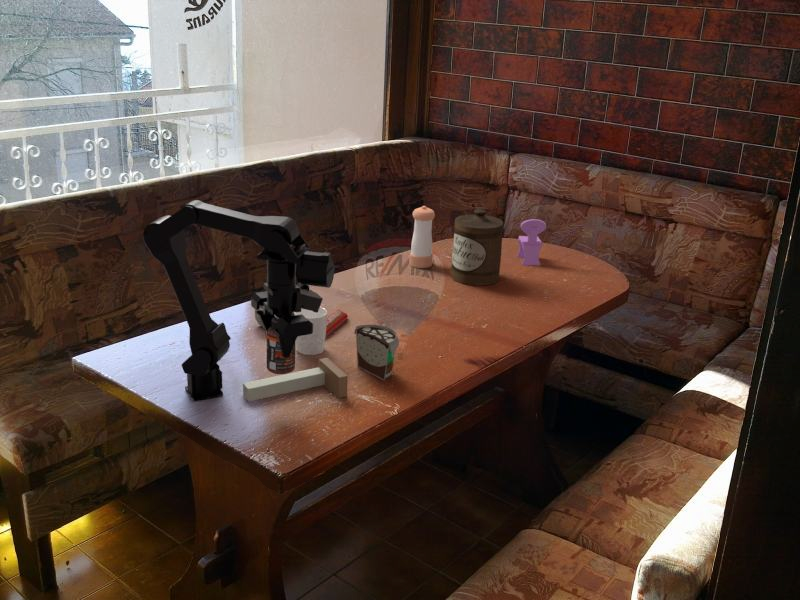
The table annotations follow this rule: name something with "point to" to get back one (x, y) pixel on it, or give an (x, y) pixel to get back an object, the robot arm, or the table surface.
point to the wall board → (299, 382)
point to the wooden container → (477, 249)
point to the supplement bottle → (278, 353)
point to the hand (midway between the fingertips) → (280, 351)
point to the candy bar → (335, 321)
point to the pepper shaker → (422, 238)
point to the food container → (376, 349)
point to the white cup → (316, 340)
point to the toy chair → (531, 241)
